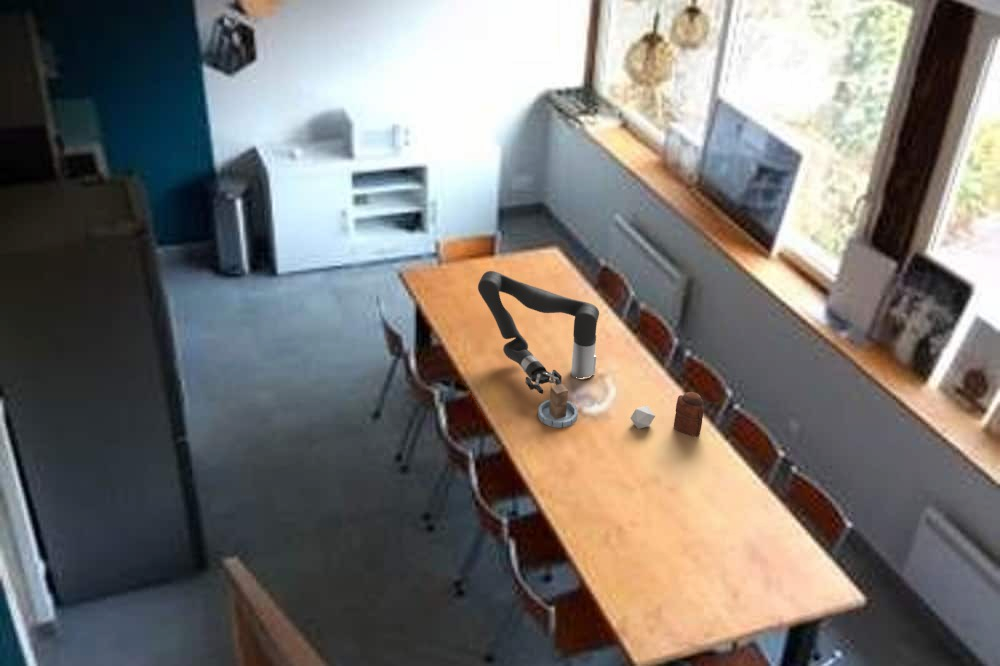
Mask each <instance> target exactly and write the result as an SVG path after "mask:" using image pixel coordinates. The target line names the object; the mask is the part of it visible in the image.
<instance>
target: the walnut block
mask: <svg viewBox="0 0 1000 666" xmlns="http://www.w3.org/2000/svg"><path fill="white" fill-rule="evenodd" d="M549 395H550V396H549V399H550V409H549V413H550V414H551V415H552V416H553V417H554V419H558V418H562V417H565V416H566V411H567V401H568V397H569V396H568V395H569V390H568V388H567V387H566V386H565V385H564V384H563V383H562V384H558V385H556V384H555V385H552V386H550V394H549Z"/></svg>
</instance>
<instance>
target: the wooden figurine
mask: <svg viewBox="0 0 1000 666" xmlns="http://www.w3.org/2000/svg"><path fill="white" fill-rule="evenodd" d="M676 400H677V401H676V404H675V405H676V406H675V413H674V420H673V421H674V422H673V427H674V429H675V430H676V431H678V432H681V433H684V434H687V435H688V436H693V437H700V436H701V430H702V426H703V418H704V412H705V408H704V405H703V404H704V400H703V399H702V397H701V395H700V394H699V393H697V392H695V391H694V392H693V391H692V392H691V391H687V392H685V393H683V394H681V395H678V396H677V399H676Z"/></svg>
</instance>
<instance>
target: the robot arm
mask: <svg viewBox="0 0 1000 666" xmlns="http://www.w3.org/2000/svg"><path fill="white" fill-rule="evenodd" d="M477 290H478V293H479V295H480V296H481V298H482V299H483V301H484V302H485V304H486V306H487V308H488V309H489V311H490V312H491V314H492V317H493V318H494V320H495V323H496V325H497V327H498V330H499V333H500V335H501V337H502V338H503V339H505V340H510V339H511V340H510V341H508V342H506V343H505V344H504V345H503V354H504V355H505V356H506V357H507V358H508V359H509V360H511V361H513V362H515V363H517V364H518V365H519V366H520V367H521V368H522V370H523V371H524V373H525V374H526V375H527V376H525V384H526V386H527V387H528V388H529V390H531V391H533V390H536V392H537V393H538V394H540V395H544V389H543V388H542V386H541V385H543V384H547V383H548V384H555V385H558V384H563V383H562V378H563V377H562V375H561V374H560V373H559V372H558V371H557V370H556V369H552V371H551V372H550V371H548V370H547V369H546V367H545V366H544V365H543V364H542V363H541V361H540V360H539V359H538V358H536V356H535V355H533V353H532V352H531V351H530V350H529V343H528V342H527V340H526V339H525V338H524V337H523V336H522V335H521V333H520V331H519V330H518V328H517V326H516V323H515V321H514V319H513V316H512V315H511V313H510V312H509V311H508V310H507V309H506V308H505V306H504V304H503V302H502V300H501V295H500V292H501V293H504V294H506V295H509V296H511V297H513V298H515V300H517V301H518V302H520V304H522V305H523V306H525V307H526V308H528V309H530V310H532V311H535V312H539V313H541V314H555V313H556V314H559V313H561V314H566V315H569V316H572V317H574V321H573V322H574V323H573V333H572V334H573V335H572V336H573V342H572V343H573V344H572V358H571V370H570V371H571V372H570V373H571V376H572V377H573V378H574V377H575V378H574V379H576V377H577V378H583V377H589V376H591V375H593V374H595V375H596V365H597V356H596V355H595V353H596V341H597V335H596V333H597V324H598V320H599V317H600V310H599V309H598V307H597V306H596V305H594V304H593V303H590V302H586V301H581V300H577V299H575V298H569V297H567V296H562V295H560V294H557V293H553V292H550V291H548V290H545V289H542V288H541V287H540V288H539V287H536V286H533V285H529V284H527V283H524V282H521V281H518V280H516V279H513V278H511V277H508V276H506V275H504V274H503V273H501V272H497V271H493V270H488V271H486V272H484V273H483V274H482V275H481V278H480V280H479V282H478V284H477ZM593 376H594V375H593Z"/></svg>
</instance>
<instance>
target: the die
mask: <svg viewBox="0 0 1000 666" xmlns="http://www.w3.org/2000/svg"><path fill="white" fill-rule="evenodd" d="M655 417H656V415H655V414H654V412H653V411H652V410H651V409H650V407H649V406H648V405H643V406H640V407H636V408H635V410H634V411H633V413H632V415H631V416H630V418H629V419H630V420H631V422H632V423H633V424H634V425H635V427H636V428H637V429H638V430H640V429H642V428H647V427H650V425H651V424H652V422H653V420H654V419H655Z"/></svg>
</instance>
